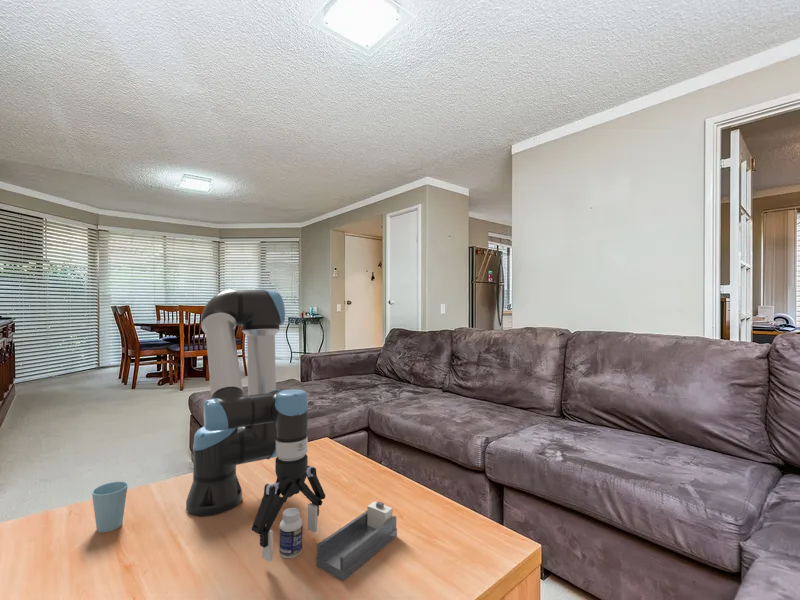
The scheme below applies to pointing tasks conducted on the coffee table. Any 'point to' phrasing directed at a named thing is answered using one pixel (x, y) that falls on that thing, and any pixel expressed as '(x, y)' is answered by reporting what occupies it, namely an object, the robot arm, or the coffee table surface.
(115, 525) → the cup
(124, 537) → the coffee table surface
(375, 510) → the mounted module
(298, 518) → the pill bottle
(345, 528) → the rail
